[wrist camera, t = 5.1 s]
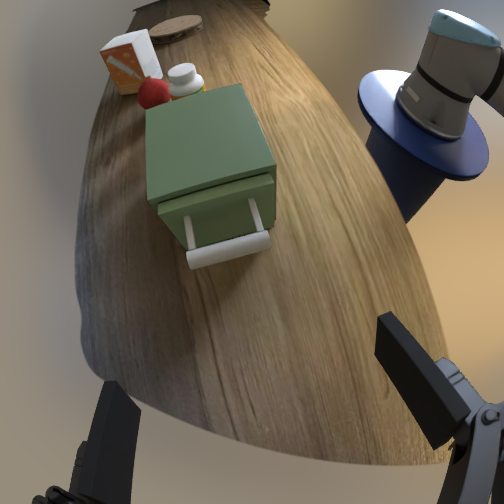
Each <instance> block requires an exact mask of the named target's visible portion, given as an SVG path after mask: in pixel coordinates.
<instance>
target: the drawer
mask: <svg viewBox="0 0 504 504" xmlns="http://www.w3.org/2000/svg"><path fill="white" fill-rule="evenodd" d="M157 207H158V215H159V216H160V218H161V219H162V220H163V222H164V223H165V224H166V225H167V227H168V228H169V229H170V230H171V232H172V233H173V234H174V235H175V237H176V238H177V239H178V240H179V242H180V243H181V244H182V245H183V247H184V248H185V249H186V250H189V251H187V252H186V258H187V262H188V265H189V267H190V269H191V270H193V269H197V268H201V267H204V266H208V265H212V264H216V263H219V262H223V261H227V260H230V259H234V258H238V257H242V256H245V255H249V254H253V253H257V252H260V251H264V250H268V249H271V241H270V238H269V234H268V232H267V230H265V231H264V229H267V228H271V227H274V181H273V179H272V176H271V173H266V174H262V175H259V174H257V175H253V176H249V177H245V178H241V179H237V180H233V181H229V182H225V183H222V184H218V185H214V186H211V187H207V188H204V189H200V190H197V191H193V192H190V193H187V194H183V195H180V196H177V197H174V198H170V199H169V200H168V201H165V202H162V203H159V204H157ZM256 231H257V233H253V234H250V235H246V236H242V237H238V238H235V239H231V240H227V241H224V242H220V243H216V244H213V245H209V246H205V247H202V248H198V249H197V247H201V246H204V245H208V244H211V243H215V242H219V241H222V240H226V239H230V238H234V237H237V236H241V235H245V234H248V233H252V232H256Z"/></svg>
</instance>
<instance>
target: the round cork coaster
mask: <svg viewBox="0 0 504 504" xmlns="http://www.w3.org/2000/svg"><path fill="white" fill-rule="evenodd" d="M202 28H203V23H202V18H201V17H200V16H197V15H187V16H181V17H177V18H173V19H170V20H167V21H164V22H162V23H160V24H158V25H156V26H155V27H153V28H152V29H151V30H150V31H149V32H148V34H149V37H150V40H151V42H152V43H154V44H164V43H170V42H174V41H177V40H181V39H184V38H187V37H189V36H191V35H194V34H196V33H197V32H199V31H200V30H201V29H202Z"/></svg>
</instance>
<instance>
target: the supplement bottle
mask: <svg viewBox="0 0 504 504" xmlns="http://www.w3.org/2000/svg"><path fill="white" fill-rule="evenodd" d="M168 76H169V80H170V82H171V83H170V84H169V88H168V89H169V93H170V96H171V98H172V101H173V100H177V99H180V98H183V97H187V96H190V95H193V94H197V93H201V92H204V91H206V89H205V85H204V81H203V78H202V77H201V76H200V75H198V74H196V70H195V66H194V65H193V64H191V63H184V64H180V65H177V66H175V67H173V68H172V69H170V70H169V72H168Z"/></svg>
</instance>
